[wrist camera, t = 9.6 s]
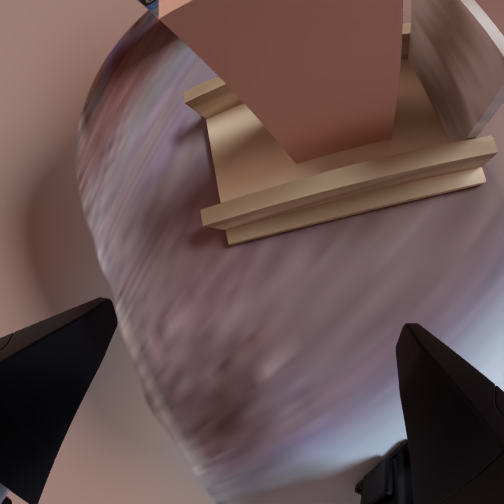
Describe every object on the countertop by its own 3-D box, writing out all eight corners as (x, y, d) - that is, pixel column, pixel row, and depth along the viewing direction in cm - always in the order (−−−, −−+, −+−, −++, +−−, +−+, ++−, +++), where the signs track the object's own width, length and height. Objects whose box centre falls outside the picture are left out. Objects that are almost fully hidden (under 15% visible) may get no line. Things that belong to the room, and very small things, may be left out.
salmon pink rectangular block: (391, 139, 16) (399, -54, 3) (295, 163, 18) (158, 19, 5) (370, 88, 16) (336, -95, 3) (281, 113, 19) (159, -35, 6)
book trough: (482, 184, 14) (568, 120, 4) (233, 244, 21) (116, 234, 11) (416, 43, 15) (419, -63, 5) (207, 103, 22) (118, 35, 12)
